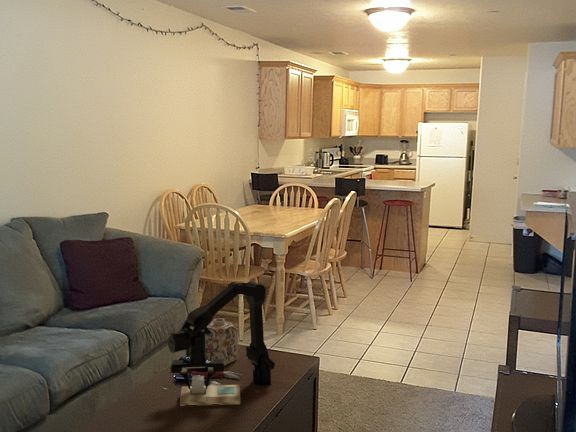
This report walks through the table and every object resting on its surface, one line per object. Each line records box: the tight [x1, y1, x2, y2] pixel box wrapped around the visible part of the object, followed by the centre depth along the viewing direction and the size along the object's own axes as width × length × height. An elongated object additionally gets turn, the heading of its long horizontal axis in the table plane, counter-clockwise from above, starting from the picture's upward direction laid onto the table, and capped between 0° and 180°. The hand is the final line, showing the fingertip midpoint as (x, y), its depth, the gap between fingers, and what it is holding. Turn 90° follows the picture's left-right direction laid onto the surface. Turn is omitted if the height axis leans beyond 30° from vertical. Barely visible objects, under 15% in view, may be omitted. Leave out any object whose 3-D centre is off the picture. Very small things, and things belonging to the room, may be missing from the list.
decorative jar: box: [206, 317, 239, 367], centre depth 258 cm, size 12×12×18 cm
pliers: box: [190, 368, 244, 380], centre depth 244 cm, size 12×20×3 cm, turn 71°
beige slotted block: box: [179, 384, 241, 407], centre depth 221 cm, size 21×10×3 cm, turn 96°
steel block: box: [191, 376, 205, 395], centre depth 220 cm, size 4×4×8 cm
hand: (198, 388), depth 220 cm, fingers open, 6 cm apart
